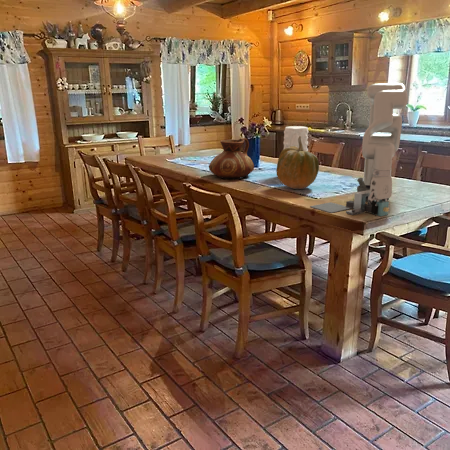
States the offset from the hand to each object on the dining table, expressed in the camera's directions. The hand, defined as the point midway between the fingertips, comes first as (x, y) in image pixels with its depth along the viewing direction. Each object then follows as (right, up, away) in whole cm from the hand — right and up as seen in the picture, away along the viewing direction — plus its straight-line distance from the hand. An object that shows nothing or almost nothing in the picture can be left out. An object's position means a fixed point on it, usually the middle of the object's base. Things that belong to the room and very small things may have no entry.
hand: (378, 212), depth 200 cm
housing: (-4, +1, +6) cm, 7 cm away
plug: (0, -1, -1) cm, 1 cm away
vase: (-23, +27, +93) cm, 100 cm away
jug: (-66, +27, +95) cm, 118 cm away
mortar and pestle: (+2, +7, +26) cm, 27 cm away
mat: (-19, +3, +12) cm, 22 cm away
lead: (-5, +1, +8) cm, 10 cm away
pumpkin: (-28, +16, +56) cm, 65 cm away
